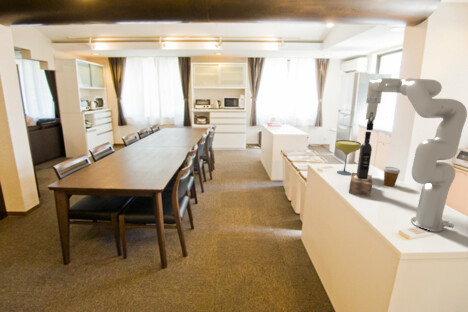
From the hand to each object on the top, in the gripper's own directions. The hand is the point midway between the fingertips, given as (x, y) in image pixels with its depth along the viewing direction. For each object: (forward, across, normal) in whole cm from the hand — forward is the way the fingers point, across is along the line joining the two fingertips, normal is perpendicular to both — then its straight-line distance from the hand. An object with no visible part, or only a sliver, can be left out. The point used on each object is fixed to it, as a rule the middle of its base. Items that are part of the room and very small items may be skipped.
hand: (369, 129), depth 153 cm
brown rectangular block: (+40, -1, -1) cm, 40 cm away
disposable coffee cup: (+40, -21, +17) cm, 49 cm away
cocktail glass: (+40, -34, -13) cm, 54 cm away
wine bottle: (+32, -1, 0) cm, 32 cm away
